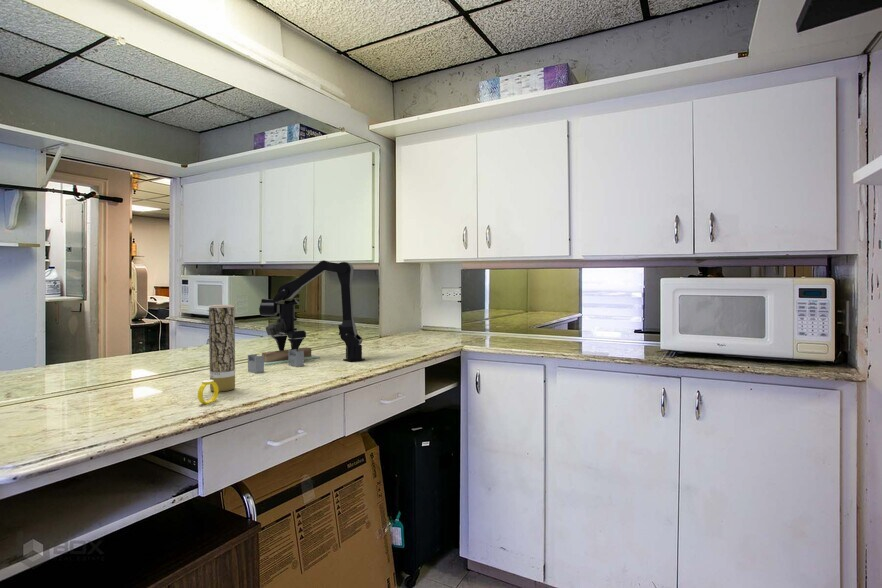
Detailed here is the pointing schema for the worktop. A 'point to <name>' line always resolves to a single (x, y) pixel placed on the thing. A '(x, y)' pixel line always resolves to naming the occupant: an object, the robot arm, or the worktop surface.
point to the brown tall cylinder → (222, 346)
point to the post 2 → (296, 357)
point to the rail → (283, 354)
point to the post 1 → (255, 363)
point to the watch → (200, 391)
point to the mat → (288, 360)
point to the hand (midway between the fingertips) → (287, 354)
